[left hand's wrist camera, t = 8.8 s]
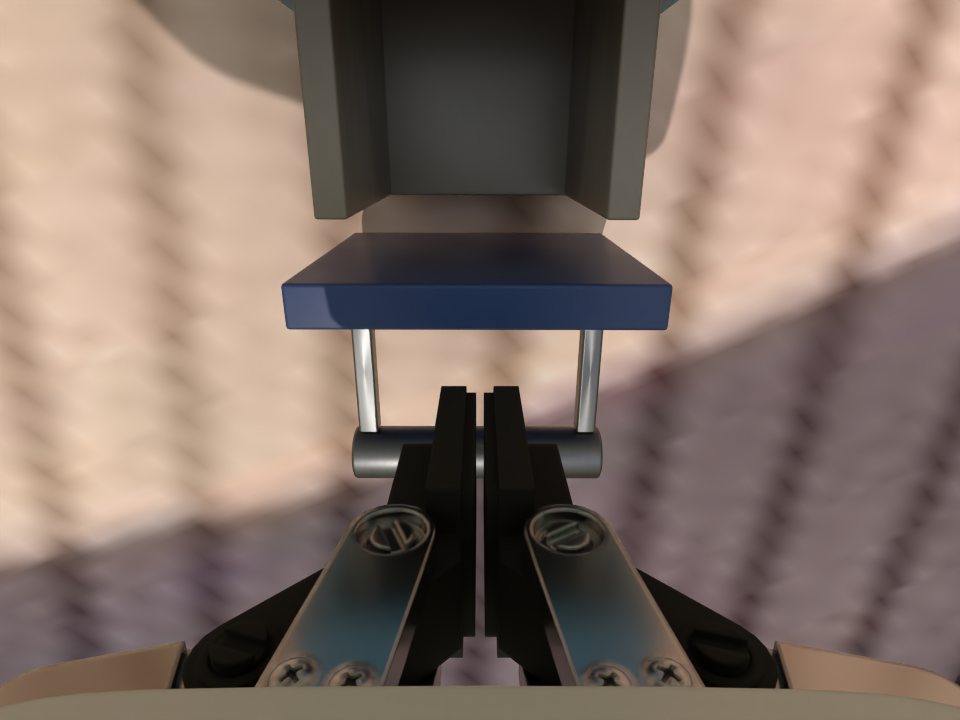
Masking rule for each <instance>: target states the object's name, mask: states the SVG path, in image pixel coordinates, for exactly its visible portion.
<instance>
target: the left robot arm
mask: <svg viewBox="0 0 960 720" xmlns="http://www.w3.org/2000/svg"><path fill="white" fill-rule="evenodd" d="M475 594H476V393H467V390H466V386H442V387H441V392H440V399H439V405H438V411H437V417H436V424H435V430H434V436H433V442H432V444H403V446H402V450H401V454H400V457H399V461H398V465H397V469H396V473H395V477H394V481H393V484H392V488H391V492H390V496H389V500H388V504H387V505H383V506H378V507H375V508H373V509H370V510H368V511H365V512H364V513H362V514H361V515H359V516H358V517H356V518H355V519H354V520H353V522H352V523H351V524H350V525H349V527H348V528H347V530H346V532H345V533H344V535H343V537H342V538H341V540H340V542H339V544H338V545H337V547H336V549H335V550H334V552H333V554H332V556H331V557H330V559H329V561H328V562H327V564H326V566H325V568H323V569H321V570H319V571H318V572H316V573H314V574H312V575H310V576H309V577H307V578H305V579H303V580H301V581H300V582H298V583H296V584H294V585H292V586H291V587H289V588H287V589H285V590H283V591H282V592H280V593H278V594H276V595H274V596H273V597H271V598H269V599H267V600H265V601H264V602H262V603H260V604H258V605H256V606H255V607H253V608H251V609H249V610H247V611H246V612H244V613H242V614H240V615H238V616H237V617H235V618H233V619H231V620H229V621H227V622H226V623H224V624H222V625H220V626H219V627H217V628H216V629H214V630H213V631H211V632H210V633H209V634H207V635H206V636H204V637H203V638H202V639H201V641H200V642H199V643H198V644H197V645H196V646H195V647H194V648H192V649H187V648H186V644H185V641H180V642H175V643H169V644H164V645H158V646H152V647H147V648H141V649H136V650H130V651H125V652H119V653H114V654H108V655H103V656H97V657H92V658H86V659H81V660H75V661H70V662H64V663H59V664H53V665H48V666H44V667H41V668H37V669H34V670H31V671H27V672H25V673H23V674H21V675H19V676H17V677H15V678H13V679H11V680H9V681H7V682H6V683H4V684H2V685H1V686H0V720H960V686H959V685H958V684H956V683H954V682H953V681H951V680H949V679H947V678H945V677H943V676H941V675H939V674H937V673H935V672H933V671H929V670H926V669H923V668H919V667H916V666H912V665H907V664H901V663H896V662H890V661H885V660H879V659H874V658H868V657H863V656H857V655H852V654H846V653H841V652H835V651H830V650H824V649H819V648H813V647H808V646H802V645H796V644H791V643H785V642H780V641H775V644H774V648H773V649H768V648H766V647H765V646H764V645H763V644H762V643H761V642H760V641H759V639H758V638H757V637H756V636H754V635H753V634H751V633H750V632H749V631H747V630H746V629H744V628H743V627H741V626H740V625H738V624H736V623H734V622H733V621H731V620H729V619H727V618H725V617H723V616H722V615H720V614H718V613H716V612H714V611H713V610H711V609H709V608H707V607H705V606H704V605H702V604H700V603H698V602H696V601H695V600H693V599H691V598H689V597H687V596H686V595H684V594H682V593H680V592H678V591H677V590H675V589H673V588H671V587H669V586H668V585H666V584H664V583H662V582H660V581H659V580H657V579H655V578H653V577H651V576H650V575H648V574H646V573H644V572H642V571H641V570H639V569H637V568H635V566H634V564H633V562H632V561H631V559H630V557H629V556H628V554H627V552H626V550H625V549H624V547H623V545H622V544H621V542H620V540H619V538H618V537H617V535H616V533H615V532H614V530H613V528H612V527H611V525H610V524H609V523H608V522H607V520H606V519H605V518H604V517H602V516H601V515H599V514H598V513H596V512H595V511H592V510H590V509H587V508H585V507H582V506H577V505H573V504H572V500H571V496H570V492H569V488H568V484H567V481H566V477H565V473H564V469H563V465H562V461H561V457H560V454H559V450H558V446H557V444H528V442H527V436H526V430H525V424H524V417H523V411H522V405H521V399H520V392H519V387H518V386H494V390H493V393H484V594H485V637H497V658H512V659H513V660H514V661H515V662H517V663H518V664H519V684H520V686H440V684H441V664H442V663H443V662H445V661H446V660H447V659H448V658H463V637H475Z"/></svg>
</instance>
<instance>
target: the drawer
mask: <svg viewBox="0 0 960 720" xmlns="http://www.w3.org/2000/svg"><path fill="white" fill-rule="evenodd" d="M293 5H294V15H295V25H296V35H297V45H298V55H299V65H300V75H301V85H302V96H303V106H304V116H305V126H306V136H307V146H308V156H309V166H310V176H311V186H312V196H313V206H314V216H315V218H316V219H347V218H349V217H351V216H352V215H354V214H356V213H358V212H360V211H362V210H363V209H365V208H367V207H369V206H371V205H373V204H374V203H376V202H378V201H380V200H382V199H383V198H385V197H387V196H389V195H566V196H568V197H570V198H571V199H573V200H575V201H577V202H578V203H580V204H582V205H584V206H585V207H587V208H589V209H591V210H592V211H594V212H596V213H598V214H599V215H601V216H603V217H604V218H606V219H608V220H638V219H639V217H640V207H641V197H642V187H643V177H644V167H645V157H646V147H647V137H648V127H649V117H650V107H651V97H652V87H653V77H654V67H655V57H656V47H657V37H658V27H659V17H660V7H661V0H293ZM281 288H282V296H283V304H284V312H285V320H286V327H287V329H351V332H352V344H353V357H354V369H355V381H356V393H357V405H358V417H359V427H357V428H356V431H355V433H354V437H353V443H352V467H353V472H354V475H355V477H357V478H394V477H395V473H396V469H397V465H398V461H399V457H400V454H401V450H402V446H403V444H432V442H433V436H434V430H435V426H380V425H381V419H380V404H379V389H378V374H377V359H376V344H375V329H392V330H580V341H579V356H578V370H577V385H576V400H575V414H574V426H525V430H526V436H527V442H528V444H557V446H558V450H559V454H560V457H561V461H562V465H563V469H564V473H565V477H566V478H598V477H599V476H600V473H601V469H602V459H603V454H602V441H601V436H600V432H599V430H598V428H597V427H595V422H596V411H597V399H598V387H599V375H600V363H601V351H602V339H603V330H666V329H667V327H668V319H669V311H670V303H671V295H672V285H671V284H670V283H668V282H667V281H665V280H664V279H663V278H661V277H660V276H659V275H657V274H656V273H654V272H653V271H652V270H650V269H649V268H648V267H646V266H645V265H643V264H642V263H641V262H639V261H638V260H636V259H635V258H634V257H632V256H631V255H630V254H628V253H627V252H625V251H624V250H623V249H621V248H620V247H619V246H617V245H616V244H614V243H613V242H612V241H610V240H609V239H608V238H606V237H605V236H603V235H602V234H593V233H355V234H353V235H352V236H350V237H349V238H347V239H346V240H345V241H343V242H342V243H340V244H339V245H337V246H336V247H335V248H333V249H332V250H330V251H329V252H327V253H326V254H325V255H323V256H322V257H320V258H319V259H317V260H316V261H315V262H313V263H312V264H310V265H309V266H307V267H306V268H305V269H303V270H302V271H300V272H299V273H297V274H296V275H295V276H293V277H292V278H290V279H289V280H287V281H286V282H285V283H283V284H282V286H281ZM476 478H484V426H476Z"/></svg>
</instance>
